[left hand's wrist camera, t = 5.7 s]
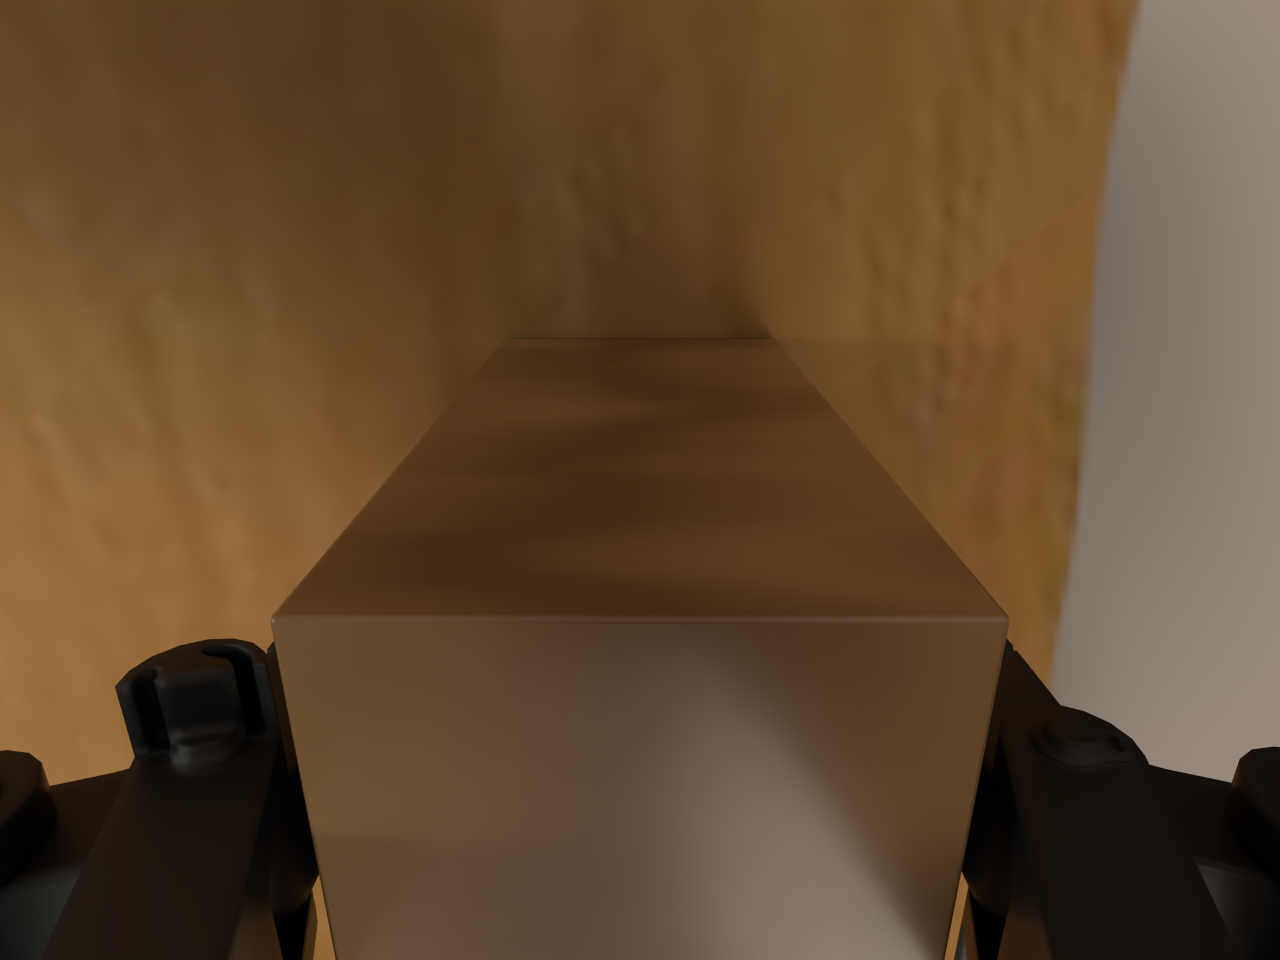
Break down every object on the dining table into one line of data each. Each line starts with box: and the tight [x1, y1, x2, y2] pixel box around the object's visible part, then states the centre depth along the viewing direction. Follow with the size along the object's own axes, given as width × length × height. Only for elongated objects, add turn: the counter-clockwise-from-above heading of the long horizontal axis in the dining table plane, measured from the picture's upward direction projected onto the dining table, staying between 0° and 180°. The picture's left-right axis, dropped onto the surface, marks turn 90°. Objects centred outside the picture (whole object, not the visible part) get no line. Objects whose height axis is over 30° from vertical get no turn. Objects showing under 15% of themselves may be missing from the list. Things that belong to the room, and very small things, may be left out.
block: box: [271, 339, 1009, 960], centre depth 12 cm, size 5×6×10 cm
